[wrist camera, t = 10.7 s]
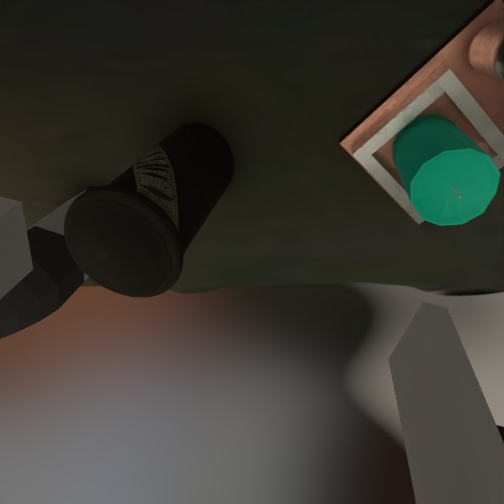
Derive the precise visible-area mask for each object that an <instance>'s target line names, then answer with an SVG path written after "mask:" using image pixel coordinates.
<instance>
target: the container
mask: <svg viewBox="0 0 504 504" xmlns="http://www.w3.org/2000/svg"><path fill="white" fill-rule="evenodd" d="M233 170H234V163H233V157H232V154H231V151H230V149H229V147H228V145H227V143H226V142H225V140H224V139H223V138H222V137H221V136H220V135H219V134H218V133H217V132H216V131H214V130H213V129H211V128H209V127H207V126H205V125H202V124H197V123H191V124H186V125H183V126H181V127H179V128H178V129H177V130H176V131H174V132H173V133H172V134H171V135H169V136H168V137H167V138H166V139H164V140H163V141H162V142H161V143H159V144H158V145H157V146H156V147H154V148H153V149H152V150H151V151H150V152H148V153H147V154H146V155H145V156H144V157H142V158H141V159H139V160H138V161H137V162H136V163H135V164H133V165H132V166H131V167H130V168H129V169H128V170H126V171H125V172H124V173H123V174H121V175H120V176H119V177H118V178H116V179H115V180H114V181H112V182H111V183H110V184H108V185H107V186H104V187H97V188H93V189H90V190H88V191H86V192H84V193H82V194H81V195H79V196H78V197H77V198H76V199H75V200H74V201H73V203H72V204H71V205H70V207H69V209H68V211H67V213H66V216H65V220H64V236H65V241H66V244H67V247H68V250H69V252H70V254H71V256H72V258H73V259H74V261H75V262H76V264H77V265H78V266H79V267H80V268H81V270H82V271H83V272H84V273H85V274H86V275H87V276H89V277H90V278H91V279H92V280H94V281H95V282H96V283H98V284H100V285H101V286H103V287H105V288H107V289H109V290H111V291H114V292H116V293H119V294H122V295H126V296H131V297H153V296H156V295H159V294H161V293H164V292H165V291H167V290H169V289H170V288H171V287H172V286H173V285H174V284H175V283H176V281H177V280H178V278H179V276H180V274H181V271H182V266H183V254H184V252H185V251H186V249H187V247H188V246H189V244H190V243H191V241H192V240H193V238H194V237H195V235H196V234H197V232H198V231H199V229H200V228H201V226H202V225H203V223H204V222H205V220H206V218H207V217H208V215H209V214H210V212H211V211H212V209H213V208H214V206H215V205H216V203H217V202H218V200H219V199H220V198H221V196H222V195H223V193H224V192H225V190H226V189H227V187H228V185H229V183H230V182H231V179H232V176H233Z"/></svg>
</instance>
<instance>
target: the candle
mask: <svg viewBox="0 0 504 504" xmlns="http://www.w3.org/2000/svg"><path fill="white" fill-rule="evenodd" d="M393 161H394V163H395V165H396V168H397V170H398V173H399V175H400V178H401V180H402V183H403V185H404V188H405V190H406V193H407V195H408V198H409V200H410V202H411V204H412V205H413V207H414V208H415V210H416V211H417V213H418V214H419V216H420V217H421V219H423V220H426V221H428V222H431V223H434V224H437V225H440V226H441V225H458V224H464V223H466V222H467V221H469V220H471V219H473V218H475V217H477V216H478V215H480V214H482V213H483V212H484V211H485V209H486V208H487V206H488V205H489V203H490V202H491V200H492V198H493V197H494V195H495V194H496V191H497V187H498V183H499V179H500V175H501V174H500V172H499V171H498V169H497V167H496V166H495V164H494V163H493V161H492V159H491V158H490V156H489V155H488V154H487V153H486V152H485V151H484V150H483V149H481V148H480V147H479V146H478V145H477V144H476V143H475V142H474V141H473V140H472V139H471V138H469V137H468V136H467V135H466V134H465V133H464V132H463V131H462V130H461V129H460V128H458V127H457V126H456V125H455V124H454V123H453V122H452V121H450V120H448V119H446V118H443V117H441V116H438V115H436V114H434V115H427V116H420V117H416V118H415V119H413V120H412V121H410V122H409V123H408V124H407V125H406V126H405V127H403V128H402V129H401V130H400V131H399V133H398V135H397V136H396V138H395V140H394V142H393Z"/></svg>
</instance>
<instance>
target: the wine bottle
mask: <svg viewBox="0 0 504 504" xmlns="http://www.w3.org/2000/svg"><path fill="white" fill-rule="evenodd" d="M93 188H95V187H90V188H88V189H86V190H84V191H83V192H81V193H80V194H78V195H76V196H75V197H73V198H71V199H70V200H68V201H67V202H65V203H64V204H63V205H61V206H60V207H58V208H57V209H55V210H54V211H53V212H51V213H50V214H48V215H47V216H45V217H44V218H43V219H41V220H40V221H38V222H37V223H35V224H34V225H33V226H31V227H30V228H28V229H27V236H28V242H29V247H30V253H31V259H32V265H33V270H32V271H31V272H30V273H29V274H28V275H26V276H25V277H24V278H23V279H22V280H21V281H20V282H19V283H18V284H17V285H15V286H14V287H13V288H12V289H11V290H10V291H9V292H8V293H7V294H6V295H5V296H3V297H2V298H1V299H0V339H1V338H4V337H7V336H9V335H11V334H14V333H16V332H18V331H20V330H22V329H25V328H27V327H29V326H31V325H32V324H35V323H37V322H39V321H41V320H42V319H44V318H45V317H47V316H48V315H50V314H51V313H53V312H55V311H56V310H58V309H59V308H60V307H61V306H62V305H63V304H64V303H65V302H66V300H67V299H68V298H69V297H70V296H71V295H72V294H73V293H74V292H75V291H76V290H77V289H78V288H79V287H80V286H81V284H82V283H83V282H84V281H85V280H86V279H87V278H88V277H89V276H87V275H86V274H85V273H84V272H83V271H82V270H81V268H80V267H79V266H78V265H77V264H76V262H75V261H74V259H73V258H72V256H71V254H70V252H69V250H68V247H67V244H66V241H65V236H64V220H65V216H66V213H67V211H68V209H69V207H70V205H71V204H72V203H73V201H74V200H75V199H76V198H77V197H78V196H79V195H81V194H82V193H84V192H86V191H88V190H90V189H93Z"/></svg>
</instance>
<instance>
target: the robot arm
mask: <svg viewBox="0 0 504 504" xmlns="http://www.w3.org/2000/svg"><path fill="white" fill-rule="evenodd" d="M32 270H33V265H32V259H31V253H30V247H29V242H28V236H27V230H26V224H25V219H24V213H23V207H22V202H20V201H16V200H12V199H8V198H4V197H0V299H1V298H2V297H3V296H5V295H6V294H7V293H8V292H9V291H10V290H11V289H12V288H13V287H14V286H15V285H17V284H18V283H19V282H20V281H21V280H22V279H23V278H24V277H25V276H26V275H28V274H29V273H30V272H31V271H32ZM389 363H390V369H391V374H392V379H393V384H394V390H395V395H396V400H397V405H398V411H399V415H400V421H401V426H402V431H403V437H404V441H405V447H406V452H407V457H408V463H409V468H410V473H411V477H412V483H413V488H414V494H415V499H416V504H504V427H502V426H498V425H496V423H495V421H494V419H493V416H492V414H491V412H490V409H489V407H488V404H487V402H486V400H485V397H484V395H483V393H482V390H481V388H480V385H479V383H478V381H477V378H476V376H475V373H474V371H473V369H472V367H471V364H470V361H469V359H468V357H467V354H466V352H465V350H464V347H463V345H462V342H461V340H460V338H459V335H458V333H457V331H456V328H455V326H454V323H453V321H452V318H451V316H450V314H449V311H448V309H447V308H445V307H442V306H438V305H433V304H430V303H425V302H423V303H422V304H421V306H420V308H419V309H418V311H417V313H416V314H415V316H414V318H413V319H412V321H411V323H410V324H409V326H408V328H407V329H406V331H405V333H404V334H403V336H402V338H401V339H400V341H399V343H398V344H397V346H396V348H395V349H394V351H393V353H392V354H391V356H390V358H389Z"/></svg>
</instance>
